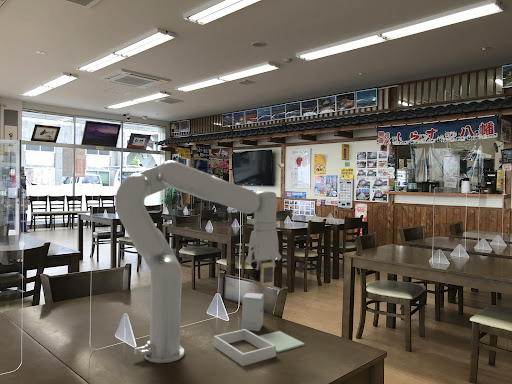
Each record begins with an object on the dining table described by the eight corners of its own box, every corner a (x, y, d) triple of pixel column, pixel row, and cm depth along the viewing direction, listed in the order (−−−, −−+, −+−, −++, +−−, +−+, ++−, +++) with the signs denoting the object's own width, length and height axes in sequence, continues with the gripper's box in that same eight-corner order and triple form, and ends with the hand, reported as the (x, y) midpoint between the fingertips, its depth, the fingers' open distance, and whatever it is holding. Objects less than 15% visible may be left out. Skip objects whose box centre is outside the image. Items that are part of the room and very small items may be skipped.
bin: (242, 366, 122) (242, 354, 122) (213, 346, 137) (213, 335, 137) (275, 356, 130) (275, 345, 129) (244, 338, 144) (245, 328, 144)
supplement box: (259, 331, 152) (260, 298, 151) (241, 329, 153) (241, 297, 153) (263, 325, 159) (264, 293, 159) (245, 323, 160) (246, 292, 160)
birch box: (253, 284, 138) (253, 261, 138) (264, 282, 141) (265, 260, 140) (262, 287, 133) (262, 263, 133) (274, 285, 136) (274, 262, 136)
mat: (277, 352, 133) (277, 350, 133) (253, 338, 144) (253, 337, 144) (304, 345, 140) (304, 343, 140) (279, 332, 151) (279, 330, 151)
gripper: (277, 225, 145) (275, 275, 145) (238, 227, 135) (236, 280, 135) (290, 227, 139) (289, 279, 139) (250, 229, 129) (249, 285, 129)
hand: (263, 279), depth 137 cm, fingers closed on birch box, 5 cm apart
